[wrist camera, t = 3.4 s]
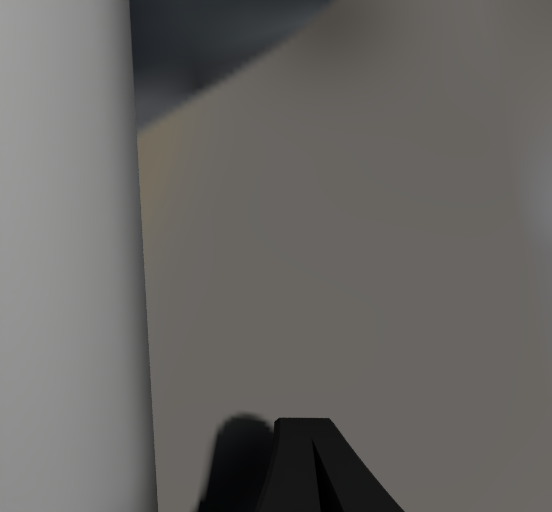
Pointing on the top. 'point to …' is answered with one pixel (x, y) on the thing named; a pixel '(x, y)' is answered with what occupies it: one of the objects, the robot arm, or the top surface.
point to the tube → (71, 264)
